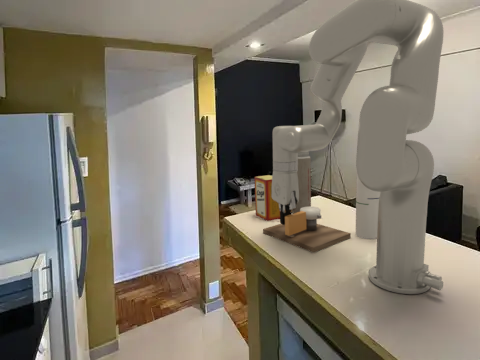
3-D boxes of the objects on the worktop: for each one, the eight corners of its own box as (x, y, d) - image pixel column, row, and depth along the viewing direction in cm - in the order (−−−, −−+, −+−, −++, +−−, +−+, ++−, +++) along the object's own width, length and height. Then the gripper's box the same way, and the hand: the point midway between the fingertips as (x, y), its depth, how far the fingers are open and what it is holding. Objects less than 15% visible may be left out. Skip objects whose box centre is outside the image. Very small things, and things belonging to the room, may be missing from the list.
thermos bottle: (313, 210, 132) (313, 141, 127) (307, 215, 125) (306, 143, 120) (295, 208, 136) (294, 142, 131) (288, 213, 130) (286, 143, 125)
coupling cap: (306, 221, 110) (306, 205, 109) (326, 227, 103) (326, 209, 102) (277, 231, 101) (277, 213, 100) (297, 238, 95) (297, 219, 94)
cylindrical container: (382, 239, 98) (384, 157, 93) (357, 238, 99) (359, 158, 94) (376, 231, 104) (379, 154, 100) (353, 230, 106) (355, 155, 101)
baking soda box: (255, 215, 129) (254, 175, 126) (269, 212, 132) (268, 174, 129) (267, 221, 120) (266, 179, 118) (282, 218, 123) (281, 177, 120)
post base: (350, 237, 100) (350, 220, 99) (314, 252, 90) (313, 234, 89) (298, 222, 117) (298, 207, 116) (263, 233, 108) (262, 217, 107)
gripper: (264, 164, 104) (265, 218, 108) (286, 171, 90) (286, 232, 94) (284, 162, 107) (285, 215, 110) (309, 168, 93) (308, 229, 96)
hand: (285, 223), depth 102 cm, fingers closed
